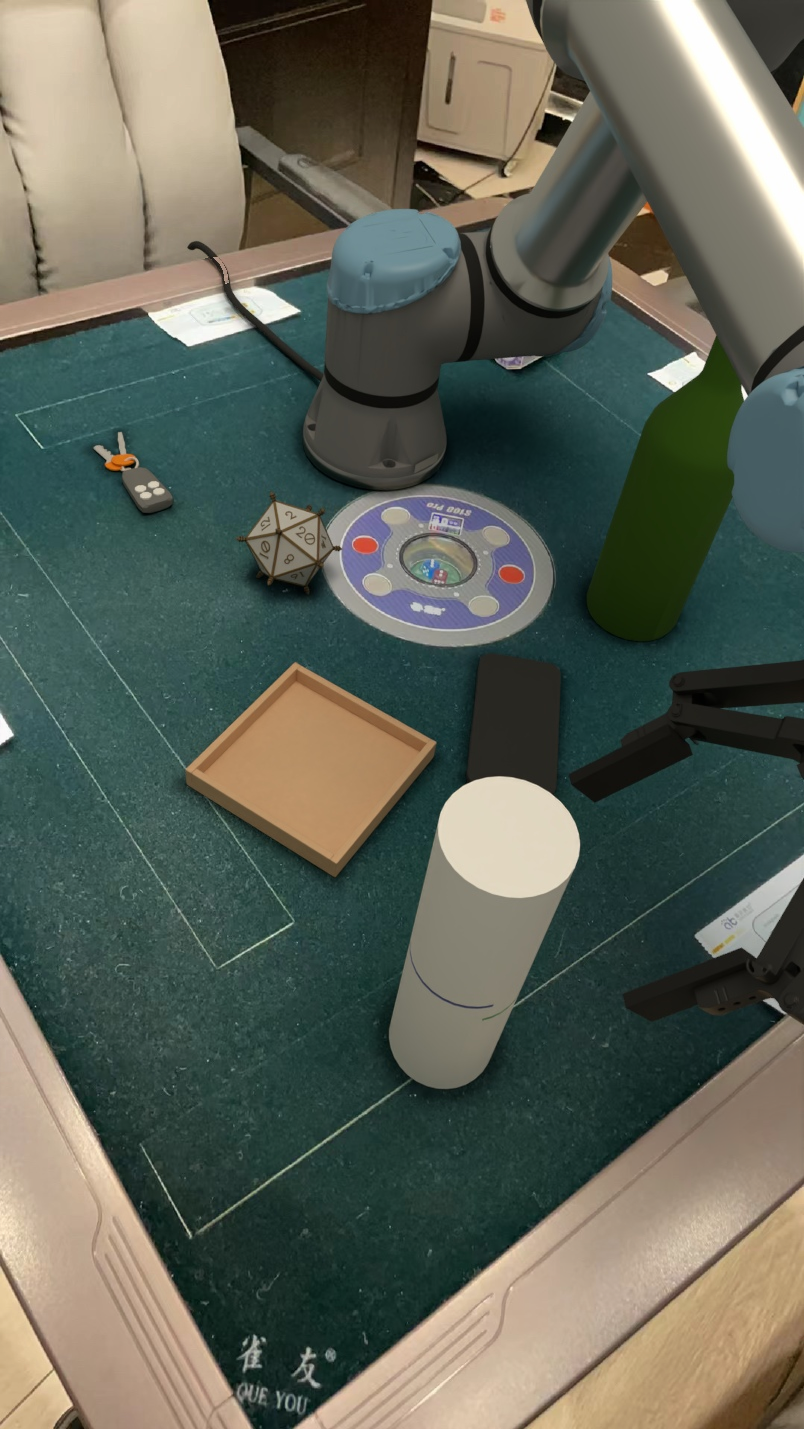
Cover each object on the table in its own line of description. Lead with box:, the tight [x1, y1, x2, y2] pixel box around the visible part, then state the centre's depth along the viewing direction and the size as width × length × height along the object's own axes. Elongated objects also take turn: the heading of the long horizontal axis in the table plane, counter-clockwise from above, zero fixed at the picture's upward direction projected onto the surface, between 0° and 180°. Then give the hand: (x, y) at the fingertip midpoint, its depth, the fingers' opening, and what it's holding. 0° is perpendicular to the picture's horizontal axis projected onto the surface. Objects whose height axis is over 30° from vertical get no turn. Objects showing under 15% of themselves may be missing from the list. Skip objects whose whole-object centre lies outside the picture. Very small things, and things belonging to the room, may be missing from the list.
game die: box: [235, 491, 343, 596], centre depth 95 cm, size 9×8×10 cm
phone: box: [465, 652, 562, 797], centre depth 89 cm, size 7×1×15 cm
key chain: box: [92, 431, 174, 514], centre depth 105 cm, size 13×4×2 cm, turn 34°
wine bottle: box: [586, 334, 745, 642], centre depth 88 cm, size 9×9×32 cm
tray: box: [185, 661, 437, 878], centre depth 84 cm, size 14×14×2 cm
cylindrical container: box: [388, 776, 581, 1090], centre depth 62 cm, size 7×7×25 cm
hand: (606, 890), depth 57 cm, fingers open, 13 cm apart
